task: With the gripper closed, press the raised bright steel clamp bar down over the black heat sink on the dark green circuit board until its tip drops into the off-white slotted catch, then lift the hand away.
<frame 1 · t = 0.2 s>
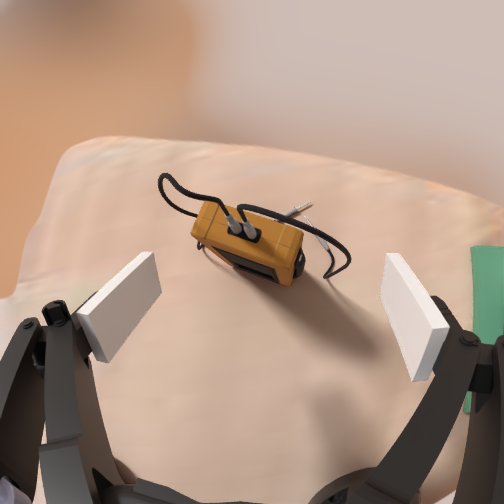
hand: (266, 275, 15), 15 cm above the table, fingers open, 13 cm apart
multimeter: (274, 234, 32), on the table
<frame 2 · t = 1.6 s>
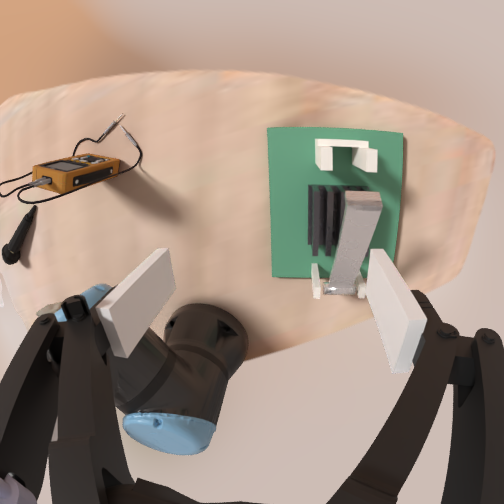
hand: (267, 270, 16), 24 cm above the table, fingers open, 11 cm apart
microphone: (26, 235, 49), on the table
multimeter: (106, 142, 39), on the table
ceramic sculpture: (74, 321, 56), on the table
clamp bar: (349, 255, 29), point 11 cm above the table, hinge at 35.0°
heat sink: (336, 212, 38), resting on circuit board
circuit board: (336, 205, 38), on the table
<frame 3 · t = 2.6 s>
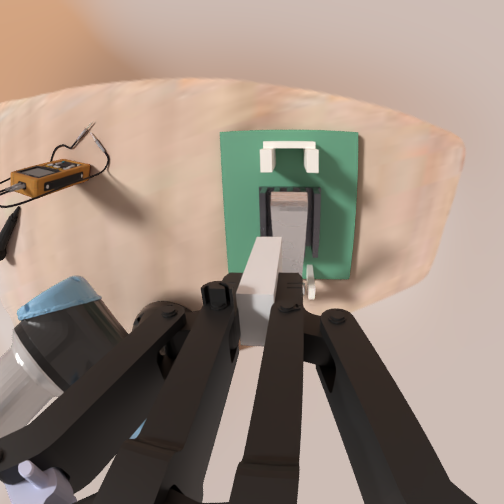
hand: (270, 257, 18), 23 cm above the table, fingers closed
microphone: (11, 234, 49), on the table
multimeter: (79, 148, 40), on the table
clamp bar: (289, 255, 30), point 11 cm above the table, hinge at 35.0°
heat sink: (290, 213, 39), resting on circuit board
circuit board: (290, 206, 39), on the table
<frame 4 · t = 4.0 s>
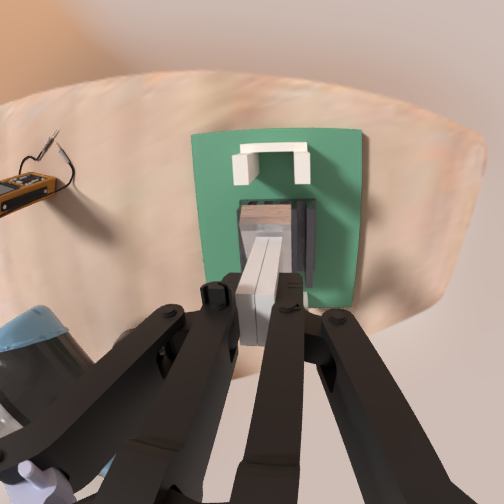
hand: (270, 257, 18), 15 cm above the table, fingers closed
multimeter: (45, 159, 33), on the table
clamp bar: (273, 287, 24), point 11 cm above the table, hinge at 31.3°, touching gripper
heat sink: (279, 230, 33), resting on circuit board
circuit board: (279, 222, 32), on the table
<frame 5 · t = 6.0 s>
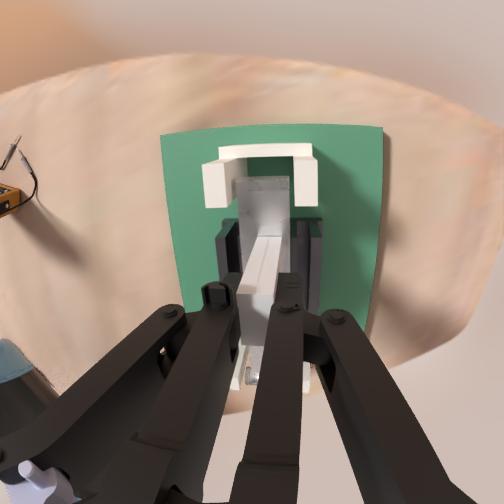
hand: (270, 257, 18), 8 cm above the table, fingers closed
multimeter: (9, 168, 26), on the table
clamp bar: (268, 301, 20), point 7 cm above the table, hinge at 1.5°, touching gripper
heat sink: (274, 257, 26), resting on circuit board
circuit board: (274, 246, 25), on the table
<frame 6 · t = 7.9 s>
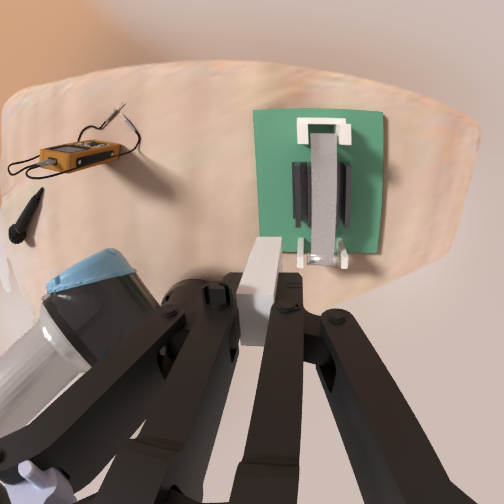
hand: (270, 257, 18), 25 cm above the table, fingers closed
microphone: (32, 216, 52), on the table
multimeter: (108, 128, 41), on the table
clamp bar: (323, 202, 34), point 7 cm above the table, hinge at 1.5°
heat sink: (320, 188, 40), resting on circuit board
circuit board: (320, 181, 40), on the table
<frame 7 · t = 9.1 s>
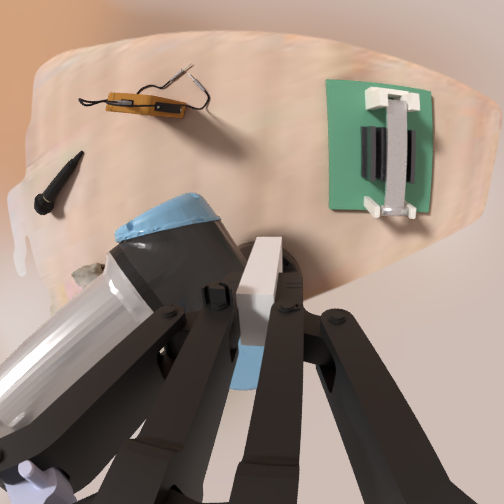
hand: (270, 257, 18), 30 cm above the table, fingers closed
microphone: (64, 184, 52), on the table
multimeter: (171, 88, 42), on the table
ceramic sculpture: (110, 283, 60), on the table
clamp bar: (396, 158, 35), point 7 cm above the table, hinge at 1.5°
heat sink: (382, 152, 41), resting on circuit board
circuit board: (382, 146, 40), on the table
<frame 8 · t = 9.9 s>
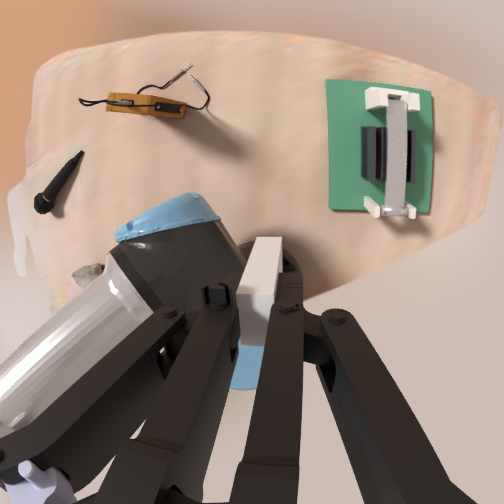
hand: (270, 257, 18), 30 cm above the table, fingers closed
microphone: (64, 183, 52), on the table
multimeter: (171, 88, 42), on the table
ceramic sculpture: (110, 284, 60), on the table
clamp bar: (396, 158, 35), point 7 cm above the table, hinge at 1.5°
heat sink: (382, 152, 41), resting on circuit board
circuit board: (382, 146, 40), on the table
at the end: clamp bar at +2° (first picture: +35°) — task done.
